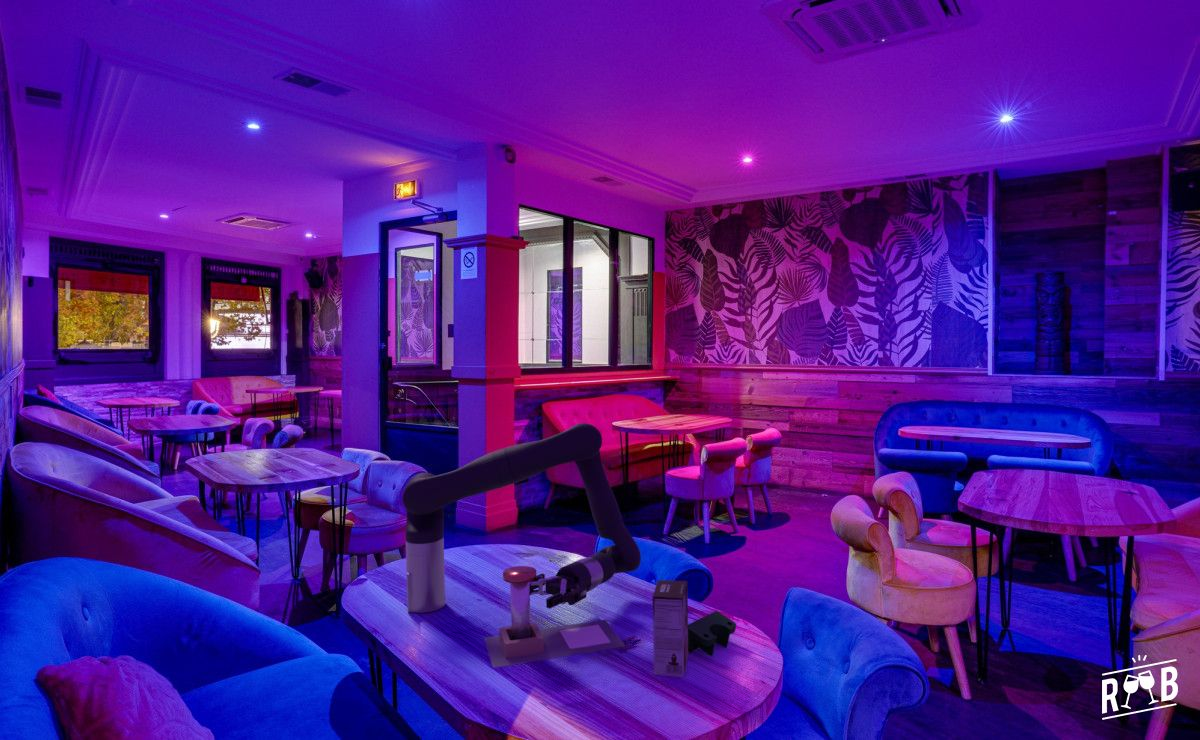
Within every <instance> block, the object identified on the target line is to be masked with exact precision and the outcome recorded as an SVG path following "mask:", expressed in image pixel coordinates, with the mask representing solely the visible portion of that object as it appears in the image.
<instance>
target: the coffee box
mask: <svg viewBox="0 0 1200 740" xmlns="http://www.w3.org/2000/svg"><path fill="white" fill-rule="evenodd" d="M688 583H689V582H688V580H666V579H665V580H664V579H663V580H662V579H659V580H657V583H656V585H655V588H654V592H653V595H652V624H653V625H652V629H653V630H652V631H653V633H652V634H653V635H652V636H653V638H652V639H653V642H652V643H653V675H655V676H663V677H677V678H685V676H686V673H687V666H688V660H689V652H688V624H689V614H688V613H689V609H688V607H689V606H688V605H689V602H688V598H689V597H688V595H689V594H688Z"/></svg>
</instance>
